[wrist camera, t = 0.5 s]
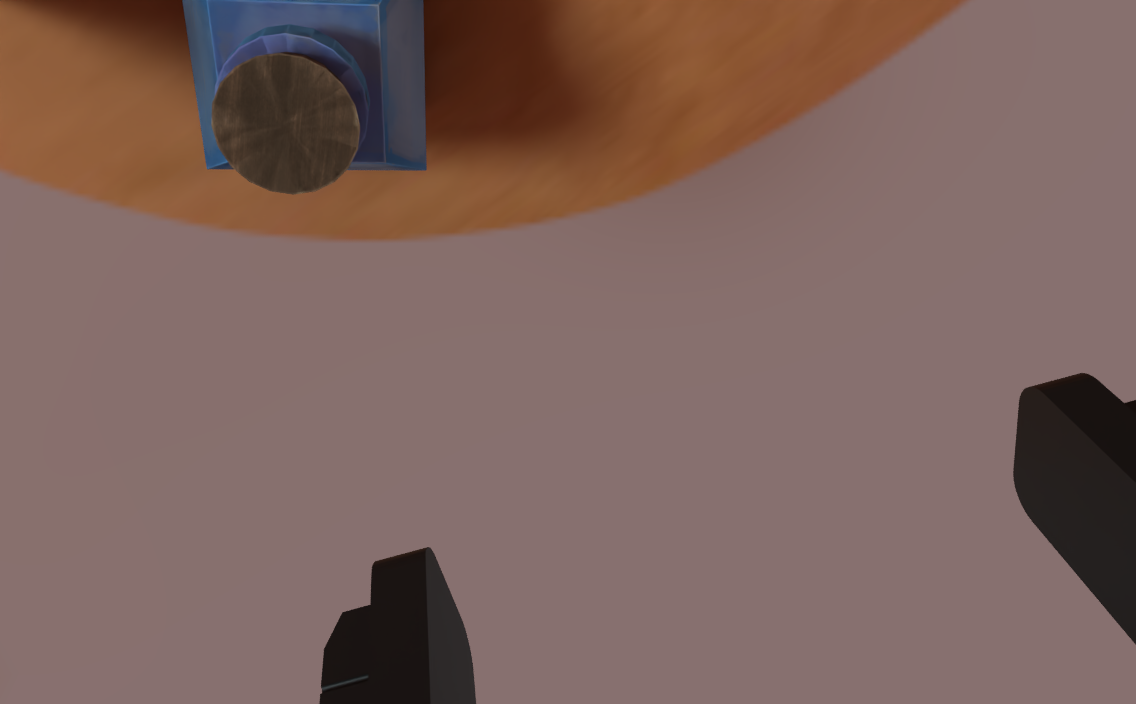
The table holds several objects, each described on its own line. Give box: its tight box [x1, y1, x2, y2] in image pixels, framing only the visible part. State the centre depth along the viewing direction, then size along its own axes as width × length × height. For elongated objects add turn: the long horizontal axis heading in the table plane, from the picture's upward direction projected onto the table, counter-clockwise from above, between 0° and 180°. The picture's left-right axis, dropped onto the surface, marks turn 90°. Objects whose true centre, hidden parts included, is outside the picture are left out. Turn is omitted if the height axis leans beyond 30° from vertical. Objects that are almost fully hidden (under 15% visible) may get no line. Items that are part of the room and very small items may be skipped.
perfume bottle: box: [182, 0, 426, 194], centre depth 25 cm, size 6×6×12 cm
